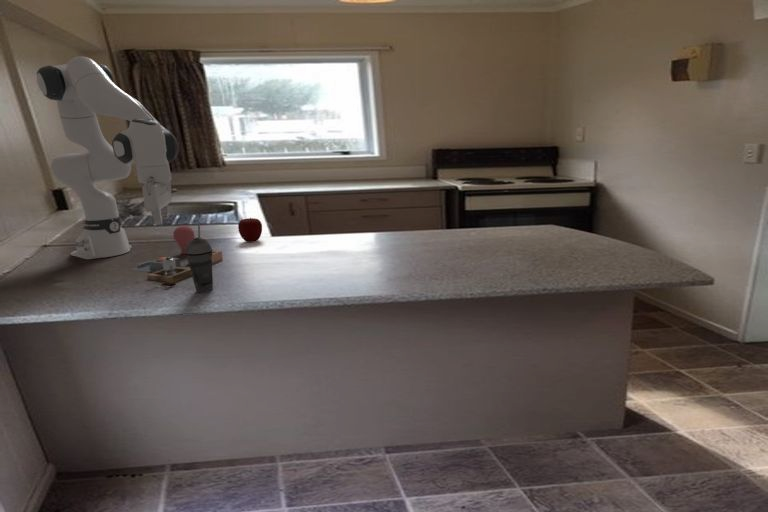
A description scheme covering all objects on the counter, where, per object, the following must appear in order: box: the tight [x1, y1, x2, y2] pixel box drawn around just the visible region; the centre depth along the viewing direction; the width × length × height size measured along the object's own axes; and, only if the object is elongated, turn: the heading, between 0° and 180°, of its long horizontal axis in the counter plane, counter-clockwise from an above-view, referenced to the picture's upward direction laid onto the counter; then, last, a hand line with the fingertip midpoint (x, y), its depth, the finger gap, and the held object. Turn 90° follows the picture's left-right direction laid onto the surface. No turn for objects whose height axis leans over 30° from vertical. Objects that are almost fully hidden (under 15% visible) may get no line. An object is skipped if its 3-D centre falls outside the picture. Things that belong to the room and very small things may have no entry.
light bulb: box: [173, 225, 195, 255], centre depth 169 cm, size 7×7×12 cm
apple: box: [237, 217, 263, 243], centre depth 190 cm, size 10×10×10 cm
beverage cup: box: [184, 222, 214, 294], centre depth 131 cm, size 7×7×20 cm
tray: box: [146, 266, 192, 287], centre depth 143 cm, size 9×9×3 cm
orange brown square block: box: [186, 250, 224, 266], centre depth 158 cm, size 8×8×4 cm
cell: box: [162, 256, 178, 276], centre depth 143 cm, size 4×4×7 cm
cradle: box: [130, 256, 186, 273], centre depth 153 cm, size 14×10×4 cm
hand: (162, 221), depth 139 cm, fingers open, 8 cm apart
